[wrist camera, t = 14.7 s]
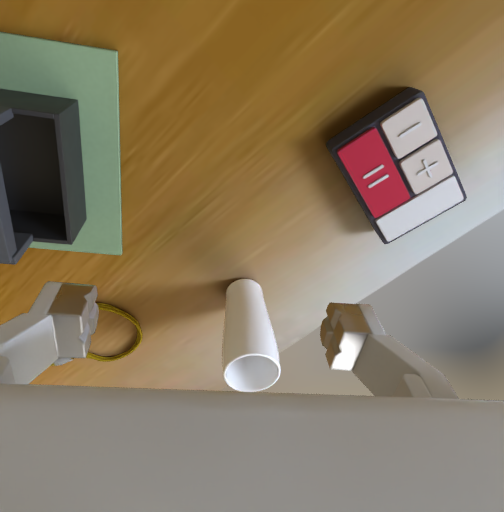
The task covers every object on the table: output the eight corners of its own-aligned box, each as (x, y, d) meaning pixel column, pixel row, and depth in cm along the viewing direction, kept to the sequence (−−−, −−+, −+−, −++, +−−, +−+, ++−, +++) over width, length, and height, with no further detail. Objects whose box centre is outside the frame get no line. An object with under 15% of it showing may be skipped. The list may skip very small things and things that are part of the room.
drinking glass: (269, 273, 56) (285, 353, 43) (264, 309, 59) (277, 393, 47) (222, 271, 55) (224, 353, 43) (219, 308, 59) (220, 393, 46)
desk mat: (-85, 17, 36) (-90, 18, 36) (118, 50, 39) (116, 51, 38) (-27, 239, 49) (-30, 242, 49) (122, 252, 52) (121, 255, 51)
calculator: (426, 90, 40) (471, 201, 47) (409, 84, 44) (453, 188, 50) (331, 151, 43) (387, 248, 50) (322, 141, 46) (376, 233, 53)
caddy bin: (-28, 84, 39) (-102, 111, 30) (78, 99, 41) (39, 129, 31) (-2, 210, 46) (-55, 262, 37) (86, 219, 48) (57, 271, 39)
